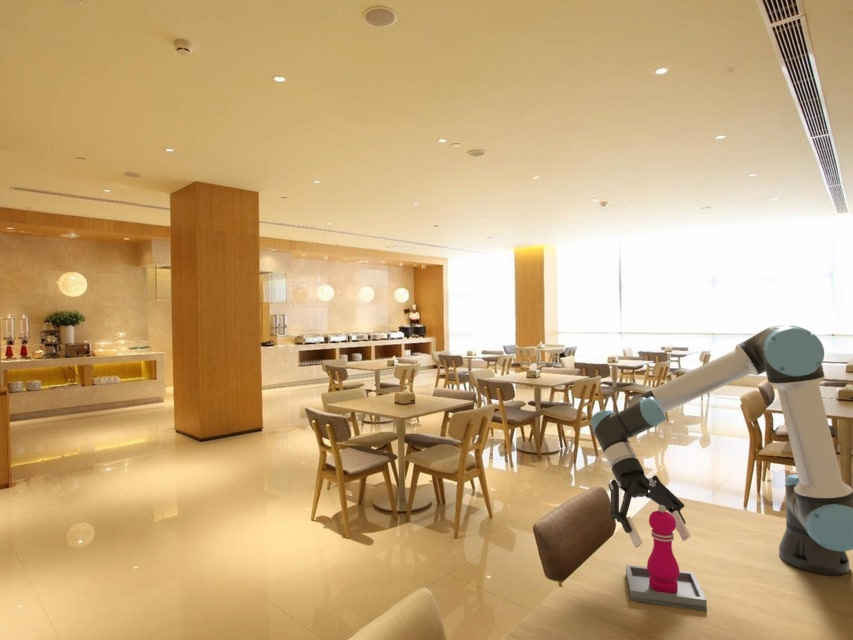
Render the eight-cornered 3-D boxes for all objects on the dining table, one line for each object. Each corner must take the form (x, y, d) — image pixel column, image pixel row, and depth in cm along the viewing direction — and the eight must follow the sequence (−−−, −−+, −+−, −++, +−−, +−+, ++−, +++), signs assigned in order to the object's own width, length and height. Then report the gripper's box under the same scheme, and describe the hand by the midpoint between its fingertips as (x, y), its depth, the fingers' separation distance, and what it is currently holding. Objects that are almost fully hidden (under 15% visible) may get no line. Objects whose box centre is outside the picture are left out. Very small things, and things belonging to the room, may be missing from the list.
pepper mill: (683, 596, 119) (682, 511, 119) (650, 593, 121) (649, 509, 121) (675, 580, 126) (674, 500, 126) (644, 578, 128) (643, 499, 128)
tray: (694, 582, 128) (693, 572, 128) (706, 611, 115) (706, 600, 115) (625, 574, 132) (625, 564, 132) (631, 601, 120) (631, 590, 120)
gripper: (657, 466, 143) (698, 542, 129) (577, 474, 137) (611, 554, 123) (670, 452, 138) (714, 529, 123) (588, 459, 132) (624, 541, 118)
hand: (663, 542), depth 123 cm, fingers open, 13 cm apart
